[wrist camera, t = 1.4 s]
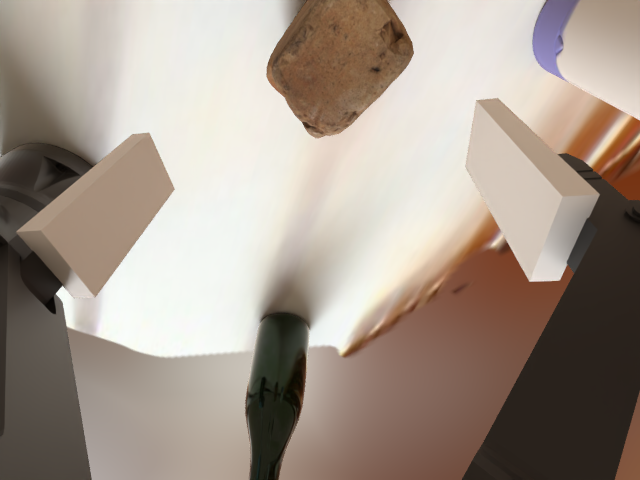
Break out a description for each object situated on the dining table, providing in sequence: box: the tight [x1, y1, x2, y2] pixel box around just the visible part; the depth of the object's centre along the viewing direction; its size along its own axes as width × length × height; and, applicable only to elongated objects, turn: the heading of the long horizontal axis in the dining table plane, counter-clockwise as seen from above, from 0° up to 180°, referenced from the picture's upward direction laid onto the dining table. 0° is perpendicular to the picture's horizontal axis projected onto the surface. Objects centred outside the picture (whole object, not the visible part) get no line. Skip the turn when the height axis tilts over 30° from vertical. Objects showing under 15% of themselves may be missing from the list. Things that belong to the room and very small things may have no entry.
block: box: [267, 0, 414, 138], centre depth 29 cm, size 11×8×20 cm
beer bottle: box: [245, 313, 309, 480], centre depth 58 cm, size 10×10×33 cm
